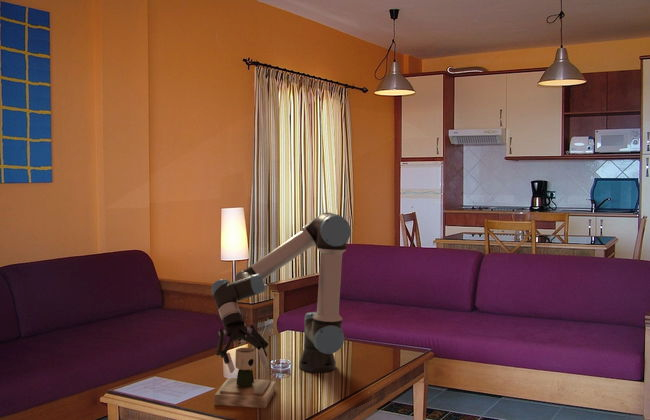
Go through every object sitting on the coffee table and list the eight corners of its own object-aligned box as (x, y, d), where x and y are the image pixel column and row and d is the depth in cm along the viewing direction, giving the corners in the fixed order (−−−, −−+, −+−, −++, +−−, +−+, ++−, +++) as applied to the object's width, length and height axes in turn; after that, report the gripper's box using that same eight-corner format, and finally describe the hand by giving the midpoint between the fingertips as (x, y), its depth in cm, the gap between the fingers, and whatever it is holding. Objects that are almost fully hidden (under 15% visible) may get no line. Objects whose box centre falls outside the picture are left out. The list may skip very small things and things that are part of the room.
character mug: (248, 391, 233) (248, 355, 232) (229, 389, 235) (229, 352, 234) (260, 382, 243) (261, 347, 243) (242, 380, 246) (243, 345, 245)
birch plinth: (275, 390, 248) (275, 379, 248) (265, 408, 230) (266, 395, 230) (227, 387, 250) (227, 376, 250) (214, 404, 232) (214, 392, 232)
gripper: (257, 319, 258) (276, 368, 247) (197, 326, 244) (214, 378, 233) (264, 308, 254) (283, 357, 242) (203, 315, 240) (221, 367, 228)
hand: (249, 368), depth 237 cm, fingers open, 13 cm apart
